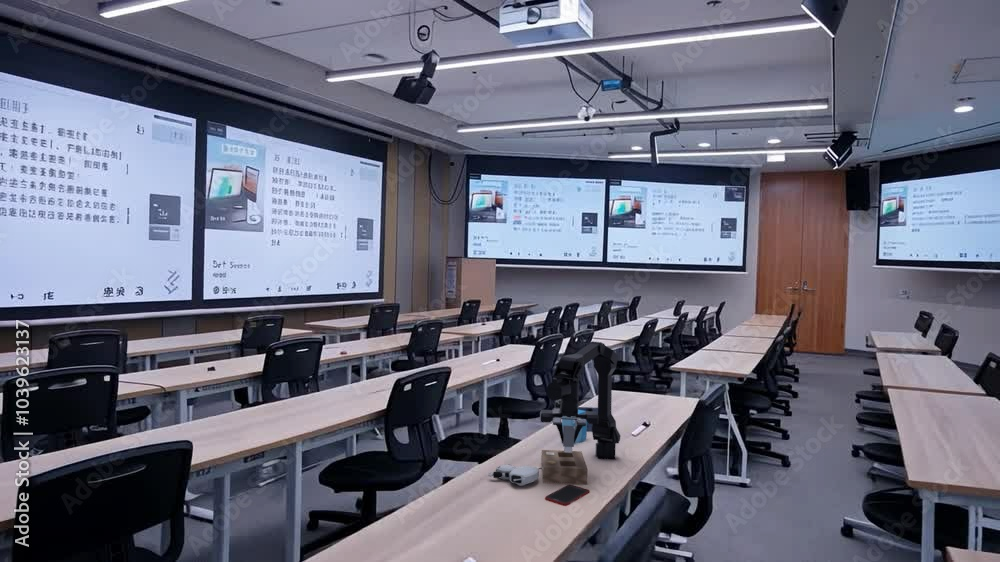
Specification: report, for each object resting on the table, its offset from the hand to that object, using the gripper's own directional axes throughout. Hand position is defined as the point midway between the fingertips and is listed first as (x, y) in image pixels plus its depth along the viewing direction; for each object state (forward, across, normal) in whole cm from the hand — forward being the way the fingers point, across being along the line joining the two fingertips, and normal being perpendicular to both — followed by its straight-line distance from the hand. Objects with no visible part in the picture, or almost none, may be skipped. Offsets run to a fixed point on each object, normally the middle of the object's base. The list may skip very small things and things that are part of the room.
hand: (568, 442), depth 195 cm
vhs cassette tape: (+12, -13, -58) cm, 61 cm away
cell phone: (+12, +1, +15) cm, 19 cm away
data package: (+12, -6, -41) cm, 44 cm away
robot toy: (+12, +17, +4) cm, 21 cm away
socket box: (+12, +1, -4) cm, 13 cm away
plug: (+3, 0, 0) cm, 3 cm away
